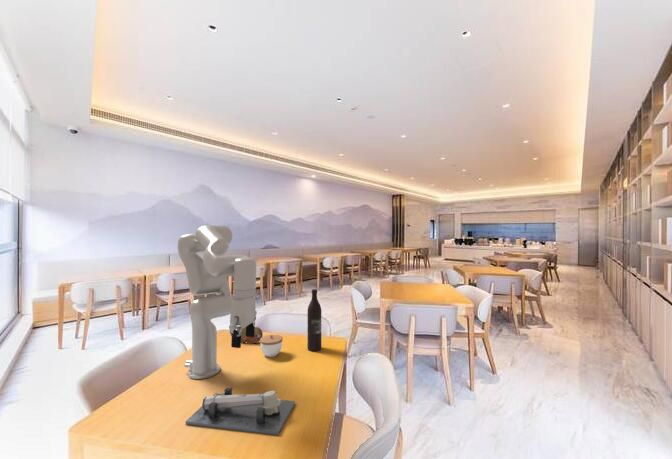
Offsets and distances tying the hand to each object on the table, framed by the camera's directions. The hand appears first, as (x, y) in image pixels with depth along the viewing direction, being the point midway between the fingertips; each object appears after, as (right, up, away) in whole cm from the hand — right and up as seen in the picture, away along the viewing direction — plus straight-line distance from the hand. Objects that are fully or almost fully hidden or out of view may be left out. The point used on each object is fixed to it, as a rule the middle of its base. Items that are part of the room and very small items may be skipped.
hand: (243, 341), depth 103 cm
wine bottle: (+22, -22, +46) cm, 56 cm away
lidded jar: (+1, -22, +40) cm, 45 cm away
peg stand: (+2, -21, -7) cm, 22 cm away
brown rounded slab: (-14, -22, +56) cm, 61 cm away
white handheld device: (+2, -20, -7) cm, 21 cm away
